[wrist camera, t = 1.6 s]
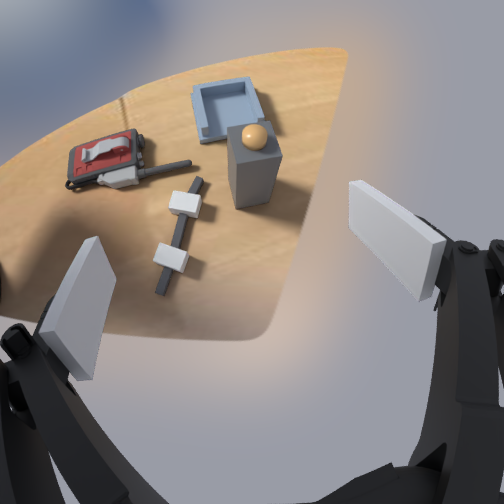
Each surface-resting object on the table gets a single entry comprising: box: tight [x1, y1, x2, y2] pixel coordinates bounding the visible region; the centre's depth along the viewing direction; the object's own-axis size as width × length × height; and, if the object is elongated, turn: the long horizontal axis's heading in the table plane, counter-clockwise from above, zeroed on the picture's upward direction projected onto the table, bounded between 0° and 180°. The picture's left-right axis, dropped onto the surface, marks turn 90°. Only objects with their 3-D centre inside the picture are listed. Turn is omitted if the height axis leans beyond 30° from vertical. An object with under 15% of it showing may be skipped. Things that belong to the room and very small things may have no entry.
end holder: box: [191, 77, 265, 144], centre depth 40 cm, size 10×10×3 cm
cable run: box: [153, 176, 204, 296], centre depth 36 cm, size 4×16×2 cm, turn 168°
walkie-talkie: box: [65, 129, 192, 190], centre depth 37 cm, size 9×4×20 cm
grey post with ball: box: [227, 121, 282, 209], centre depth 32 cm, size 4×4×13 cm
